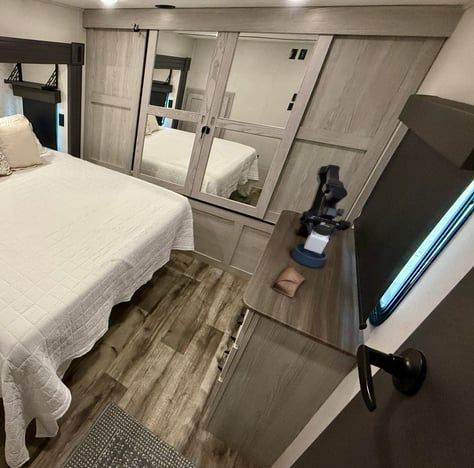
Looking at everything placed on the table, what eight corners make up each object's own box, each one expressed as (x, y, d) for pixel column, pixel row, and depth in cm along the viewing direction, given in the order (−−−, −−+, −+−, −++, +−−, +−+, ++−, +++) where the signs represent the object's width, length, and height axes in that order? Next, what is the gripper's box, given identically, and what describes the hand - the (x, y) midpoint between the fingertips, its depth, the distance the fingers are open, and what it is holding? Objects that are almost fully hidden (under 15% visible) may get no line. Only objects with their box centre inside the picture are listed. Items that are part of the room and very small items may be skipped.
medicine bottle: (321, 254, 128) (333, 232, 121) (303, 248, 131) (314, 226, 125) (322, 247, 133) (334, 226, 126) (305, 242, 136) (316, 220, 130)
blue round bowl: (292, 248, 143) (296, 240, 141) (322, 258, 137) (327, 249, 135) (289, 260, 134) (294, 252, 131) (322, 271, 128) (327, 262, 125)
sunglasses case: (294, 298, 110) (290, 282, 109) (274, 296, 116) (271, 281, 115) (306, 278, 122) (303, 264, 121) (287, 278, 127) (284, 264, 126)
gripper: (311, 195, 126) (302, 226, 124) (361, 205, 119) (352, 239, 117) (302, 204, 136) (294, 233, 134) (348, 214, 129) (340, 245, 127)
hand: (319, 237), depth 127 cm, fingers closed on medicine bottle, 7 cm apart
